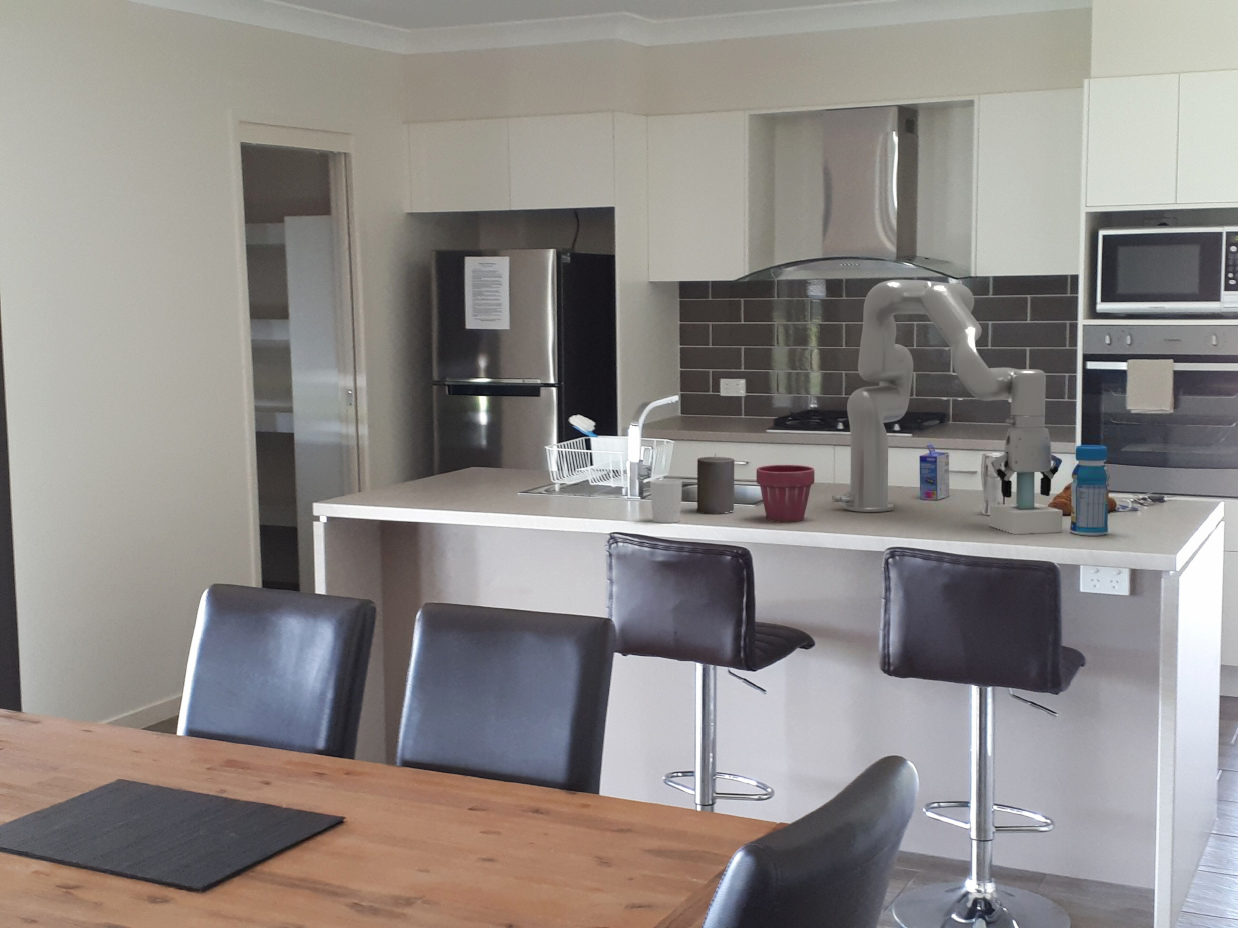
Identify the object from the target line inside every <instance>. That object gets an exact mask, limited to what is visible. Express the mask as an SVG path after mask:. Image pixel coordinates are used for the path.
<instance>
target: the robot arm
mask: <svg viewBox="0 0 1238 928" xmlns="http://www.w3.org/2000/svg"><path fill="white" fill-rule="evenodd" d="M974 306H975V297H974V294H973V293H972V291H971V290H970V288H968V287H967V286H966V285H964V284H962V283H949V282H941V281H940V282H939V281H933V280H923V279H921V280H920V279H918V280H917V279H891V280H885V281H882V282H879V283H878V284H876V285H875V286H873V287H872V288H871V289H869V291H868V293H867V295H866V296H865V299H864V304H863V322H862V330H861V331H862V332H861V338H860V346H859V352H858V361H857V362H858V364H857V371H858V375H859V376H860V378H862V379H863V380H864V381H867V382H871V383H878V384H879V385H876V386H875V385H874V386H864V387H860V388H858V389H856V390H854V391H853V392H852V393H851V394H850V396H849V397H848V400H847V403H846V410H847V418H848V422H849V432H850V490H846V493H844V494H833V495H831V500H832V503H844V505H843V509H845V510H847V511H852V512H858V513H860V512H861V513H880V512H881V513H882V512H883V513H884V512H890V511H893V510H894V507H895V506H894V504H893V503H890V502H888V501H889V500H888V497H889V495H888V493H889V492H888V491H889V489H888V488H889V485H888V484H889V437H888V432H887V430H886V427H885V425H884V423H891V422H896V421H898V420H901V419H902V418H903V417H904V416H905V414H906V412H907V411H908V408H909V403H910V395H911V388H912V382H913V375H914V374H913V373H914V360H913V355H912V354H911V352H910V350H909V349H908V348H907V347H906V346H905V345H904V346H903V345H902V344H897V343H896V337H897V324H896V319H895V318H894V316H895V315H927V317H928V318H929V320H930V321H931V322H932V323H933V325H934V327H935V328H936V329H937V330H938V332H939V333H940V335H941V336H942V338H943V339H944V340H945V342H946V343H947V344H948V345H949V347H950V350H951V353H950V355H951V361H952V366H953V370H954V372H955V373H956V375H957V376H958V379H959V380H960V381H961V383H962V384H963V385H964V387H965V389H966V390H967V391H968V392H969V393H970V394H971V395H972V396H973V397H974V398H975V399H978V401H979V400H980V401H984V402H986V401H987V402H988V401H1001V400H1011V402H1010V403H1011V404H1010V415H1009V418H1006V419H1005V424H1006V425H1009V427H1010V428H1008V430H1007V433H1006V437H1005V443H1004V449H1003V451H1004V452H1003V453H1002V454H1003V455H1002V456H1000V457H998V458H997V459H995V460H993V461H992V462H991V464H992V466H993V469H994V470H995V473H996V474H997V475H998V476H999V478H1000V479H1001V492H1002V496H1004V497H1006V498H1008V499H1009V498H1012V488H1013V486H1012V485H1013V484H1012V483H1013V482H1012V480H1011V478H1012V477H1013V475H1014V474H1015V473H1017V472H1018V473H1024V472H1035V473H1040V474H1041V475H1042V477H1040V486H1039V487H1040V490H1039V492H1040V495H1041V496H1045V497H1050V496H1051V495H1050V494H1051V491H1052V480H1053V478H1054V477H1055V475H1056V474H1057V473H1058V472H1059V468H1061V467H1060V466H1061V465H1062V463H1063V460H1062V458H1059V457H1058V456H1056V455H1054V454H1052V445H1051V438H1050V433H1049V432H1050V431H1049V429H1048V428H1045V425H1046V424H1045V423H1046V422H1045V421H1046V420H1045V419H1046V417H1045V416H1046V388H1047V386H1046V381H1047V377H1046V372H1044V371H1043V370H1042V369H1032V368H1031V369H1030V368H1027V369H1024V368H1023V369H1019V368H1013V367H990V368H989V366H988V365H987V363H985V361H984V359H982V357H981V356H980V353H978V350H977V346H976V341H977V340H979V339H980V337H981V335H982V331H983V330H982V327H981V325H980V323H979V322H978V321H977V319H976V318H975V317H974V315H973V314H972V311H973V309H974ZM1003 462H1004V468H1005V469H1004V470H1002V469H1001V467H1000V464H1001V463H1003Z"/></svg>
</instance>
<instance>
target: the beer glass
mask: <svg viewBox="0 0 1238 928" xmlns="http://www.w3.org/2000/svg"><path fill="white" fill-rule="evenodd" d="M1003 454H1004V453H998V452H997V453H994V452H991V453H988V452H987V453H982V454H981V463H980V464H981V465H980V466H981V468H980V477H981V478H980V479H981V486H982V487H981V488H982V493H983V506H982V511H981V514H982V515H984V516H989V515H990V505H1007V503H1006V502H1007V501H1006V500H1007V499H1006V498H1007V497H1004V496H1002V492H1001V479H1000V478H999V476H998V475H997V474H996V473H995V470H994V469H993V466H992V464H991V462H992V461H993V460H995V459H997V458H998V457H1000V456H1002V455H1003ZM1000 467H1001V469H1002V470H1004V469H1005V468H1004V462H1003V463H1001V464H1000Z"/></svg>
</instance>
